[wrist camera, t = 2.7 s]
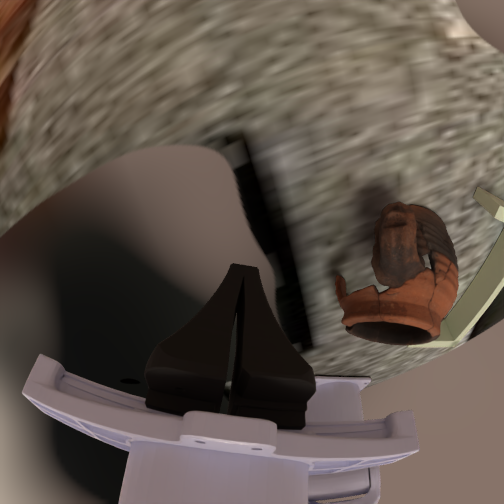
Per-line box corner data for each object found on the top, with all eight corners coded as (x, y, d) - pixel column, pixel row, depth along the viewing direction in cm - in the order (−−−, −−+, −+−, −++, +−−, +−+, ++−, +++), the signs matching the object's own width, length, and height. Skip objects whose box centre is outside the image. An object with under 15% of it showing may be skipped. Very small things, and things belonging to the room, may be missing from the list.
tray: (445, 325, 24) (454, 346, 22) (399, 322, 24) (407, 347, 21) (518, 210, 15) (537, 228, 13) (477, 186, 15) (500, 205, 12)
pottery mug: (454, 258, 19) (451, 350, 16) (361, 261, 26) (345, 344, 22) (450, 152, 12) (469, 289, 8) (309, 173, 18) (277, 288, 14)
